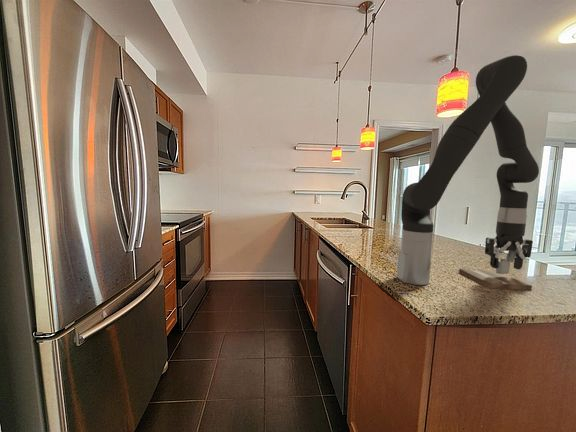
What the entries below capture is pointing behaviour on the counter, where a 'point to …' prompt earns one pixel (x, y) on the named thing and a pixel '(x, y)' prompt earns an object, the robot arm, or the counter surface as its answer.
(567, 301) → the counter surface
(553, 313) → the counter surface
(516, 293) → the counter surface
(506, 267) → the lighter
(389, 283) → the counter surface
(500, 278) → the brown flat slab
